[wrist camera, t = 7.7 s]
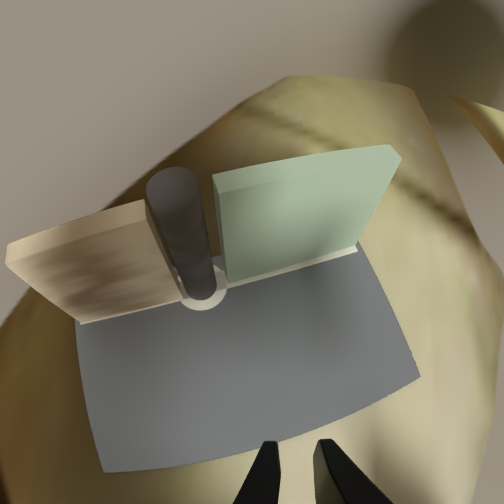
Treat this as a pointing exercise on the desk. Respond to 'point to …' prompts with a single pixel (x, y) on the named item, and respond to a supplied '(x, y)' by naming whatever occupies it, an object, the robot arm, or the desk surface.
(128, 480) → the desk surface
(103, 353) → the card
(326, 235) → the panel
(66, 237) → the fixed fence panel
